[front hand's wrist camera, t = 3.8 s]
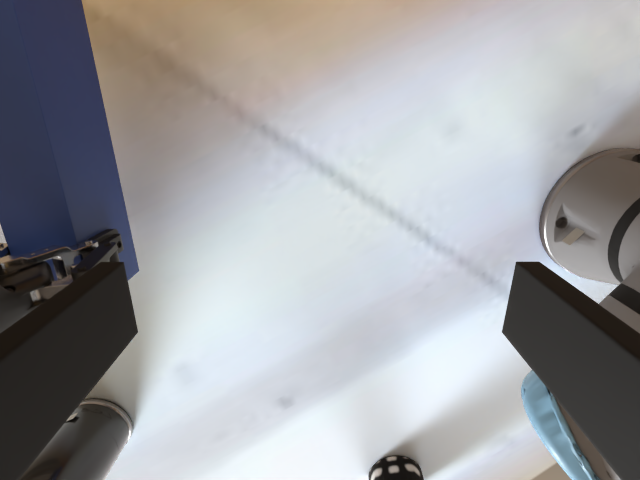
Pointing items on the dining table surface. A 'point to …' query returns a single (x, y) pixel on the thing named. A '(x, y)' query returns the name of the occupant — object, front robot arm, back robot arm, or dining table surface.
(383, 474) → the black spotted cylinder
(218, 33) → the dining table surface
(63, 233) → the bar
